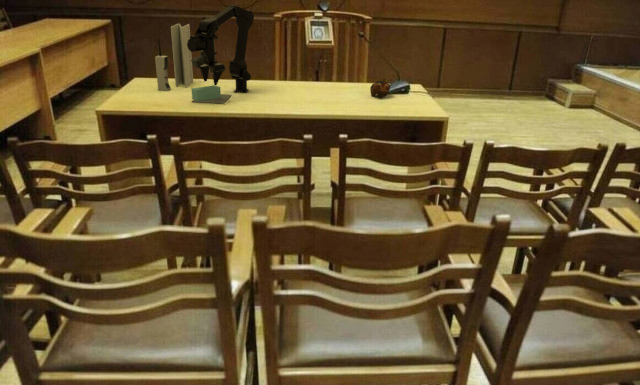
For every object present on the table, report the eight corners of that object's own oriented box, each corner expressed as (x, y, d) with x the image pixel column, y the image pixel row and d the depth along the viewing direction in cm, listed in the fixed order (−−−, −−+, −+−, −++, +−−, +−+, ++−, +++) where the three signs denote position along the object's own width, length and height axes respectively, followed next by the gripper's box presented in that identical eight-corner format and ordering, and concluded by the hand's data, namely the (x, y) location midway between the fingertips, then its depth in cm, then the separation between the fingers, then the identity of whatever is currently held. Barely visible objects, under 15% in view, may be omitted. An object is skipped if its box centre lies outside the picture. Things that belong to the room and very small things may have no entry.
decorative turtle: (365, 98, 254) (366, 82, 250) (375, 92, 266) (376, 77, 263) (383, 100, 250) (385, 84, 247) (392, 94, 263) (394, 79, 259)
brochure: (186, 87, 258) (181, 27, 246) (175, 87, 258) (170, 26, 246) (193, 81, 271) (189, 24, 259) (183, 81, 271) (178, 23, 259)
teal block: (215, 95, 244) (192, 98, 237) (214, 85, 242) (191, 88, 234) (220, 97, 241) (197, 101, 233) (220, 87, 239) (196, 90, 231)
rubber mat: (201, 94, 248) (201, 93, 247) (231, 95, 247) (231, 94, 247) (191, 102, 233) (191, 101, 233) (223, 104, 232) (223, 102, 232)
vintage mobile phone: (167, 91, 250) (162, 39, 240) (158, 90, 251) (153, 38, 241) (170, 89, 254) (166, 38, 243) (161, 88, 254) (156, 37, 244)
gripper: (183, 47, 232) (185, 81, 239) (203, 53, 220) (205, 89, 226) (204, 46, 239) (206, 78, 245) (225, 51, 226) (226, 86, 233)
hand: (210, 83), depth 237 cm, fingers open, 9 cm apart
